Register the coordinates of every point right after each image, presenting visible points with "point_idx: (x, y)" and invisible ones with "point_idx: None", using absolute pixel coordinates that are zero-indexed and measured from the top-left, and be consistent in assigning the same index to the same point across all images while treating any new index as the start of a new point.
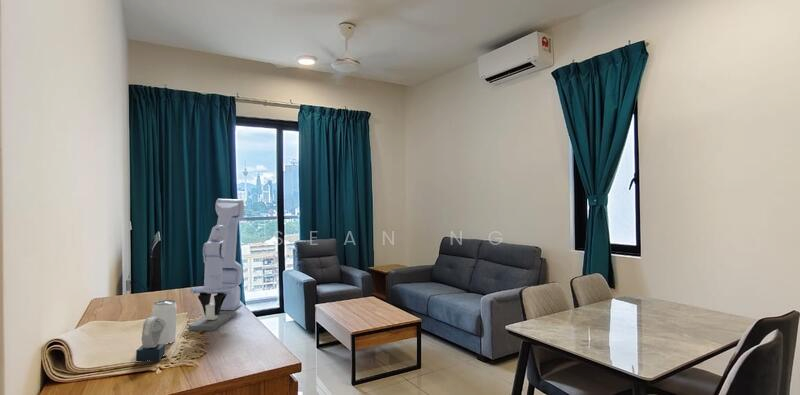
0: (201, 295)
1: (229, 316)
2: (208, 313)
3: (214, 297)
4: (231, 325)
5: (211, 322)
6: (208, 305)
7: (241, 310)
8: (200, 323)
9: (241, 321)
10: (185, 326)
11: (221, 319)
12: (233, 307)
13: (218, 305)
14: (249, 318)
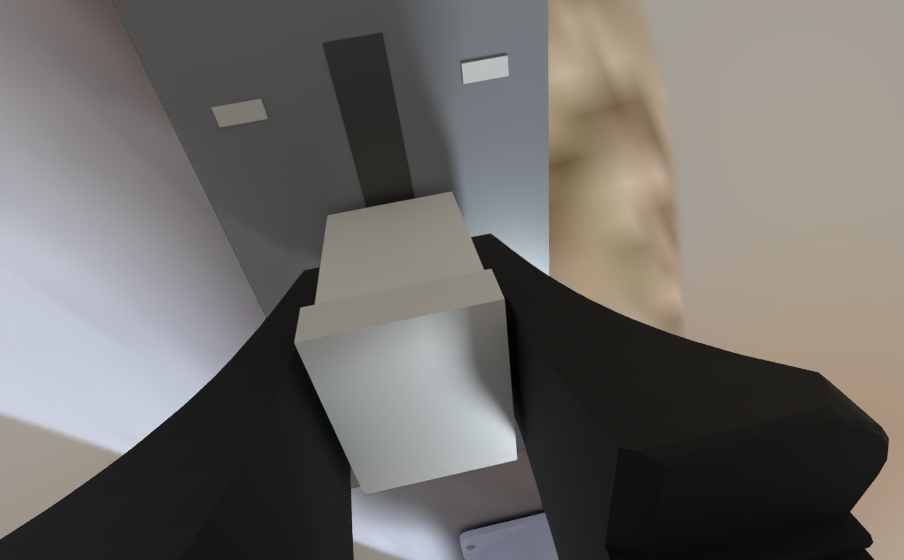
0: (777, 516)
1: None
2: (421, 243)
3: (160, 549)
4: (106, 233)
5: (291, 115)
6: (431, 316)
7: (406, 547)
8: (420, 11)
9: (148, 377)
10: (647, 35)
11: (275, 280)
12: (480, 557)
13: (208, 383)
14: None
